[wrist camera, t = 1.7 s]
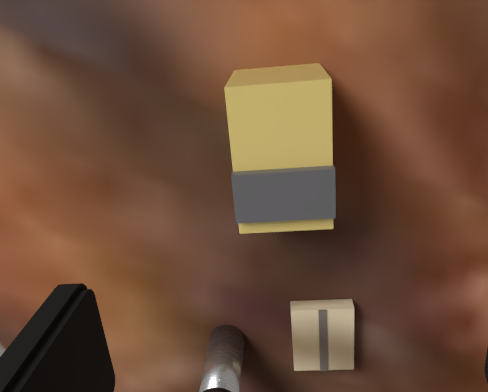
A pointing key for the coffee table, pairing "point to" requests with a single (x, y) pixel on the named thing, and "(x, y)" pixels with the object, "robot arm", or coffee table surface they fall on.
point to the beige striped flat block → (323, 334)
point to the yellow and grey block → (281, 148)
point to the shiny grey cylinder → (223, 360)
